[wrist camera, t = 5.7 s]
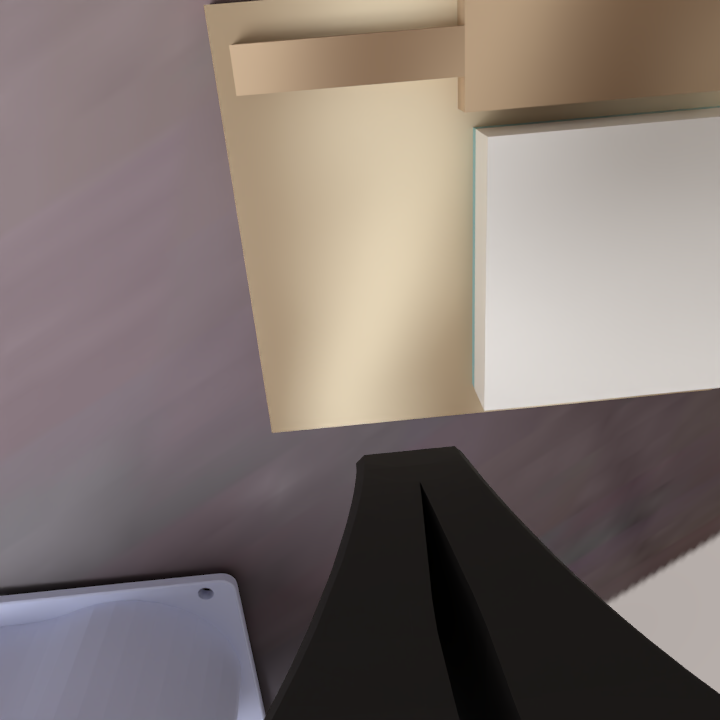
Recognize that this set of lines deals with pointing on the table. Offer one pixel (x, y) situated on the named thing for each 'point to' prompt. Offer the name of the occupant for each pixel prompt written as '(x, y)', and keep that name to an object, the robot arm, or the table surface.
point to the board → (363, 219)
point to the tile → (596, 257)
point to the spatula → (511, 53)
